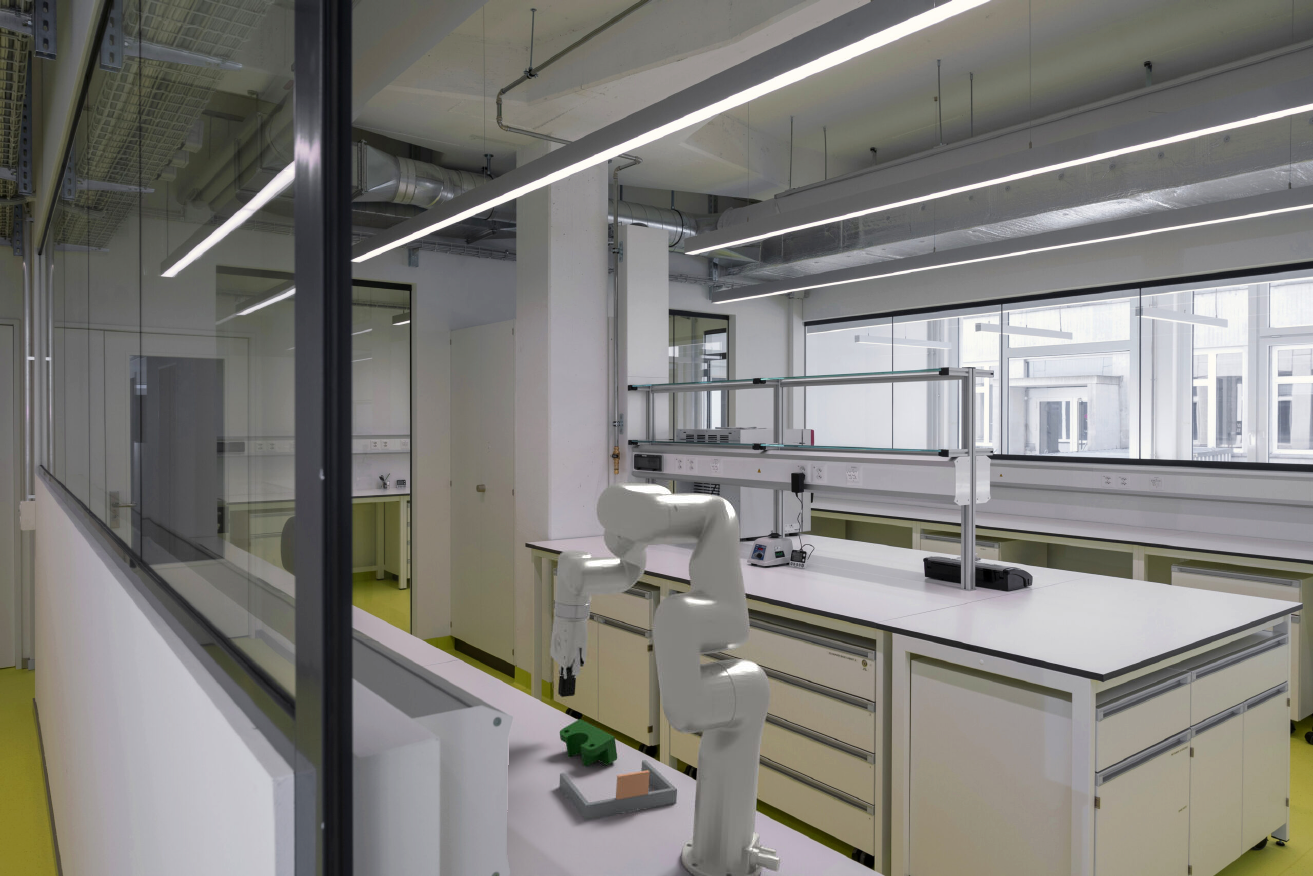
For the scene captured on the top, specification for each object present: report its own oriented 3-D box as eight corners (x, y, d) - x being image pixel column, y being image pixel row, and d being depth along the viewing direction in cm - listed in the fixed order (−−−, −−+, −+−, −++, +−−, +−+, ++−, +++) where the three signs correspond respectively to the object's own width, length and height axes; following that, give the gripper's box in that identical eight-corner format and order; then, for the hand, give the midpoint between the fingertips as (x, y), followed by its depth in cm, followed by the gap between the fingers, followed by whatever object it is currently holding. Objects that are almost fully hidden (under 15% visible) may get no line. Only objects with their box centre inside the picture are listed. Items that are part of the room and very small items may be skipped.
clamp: (568, 775, 158) (552, 732, 159) (591, 761, 162) (575, 719, 163) (600, 775, 149) (582, 729, 150) (623, 759, 153) (606, 715, 154)
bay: (559, 787, 143) (561, 752, 143) (644, 772, 151) (646, 739, 151) (585, 820, 132) (587, 782, 132) (676, 803, 140) (678, 767, 140)
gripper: (544, 601, 170) (538, 684, 171) (568, 620, 157) (561, 710, 158) (576, 600, 174) (570, 681, 174) (602, 618, 161) (596, 706, 161)
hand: (566, 694), depth 166 cm, fingers closed
